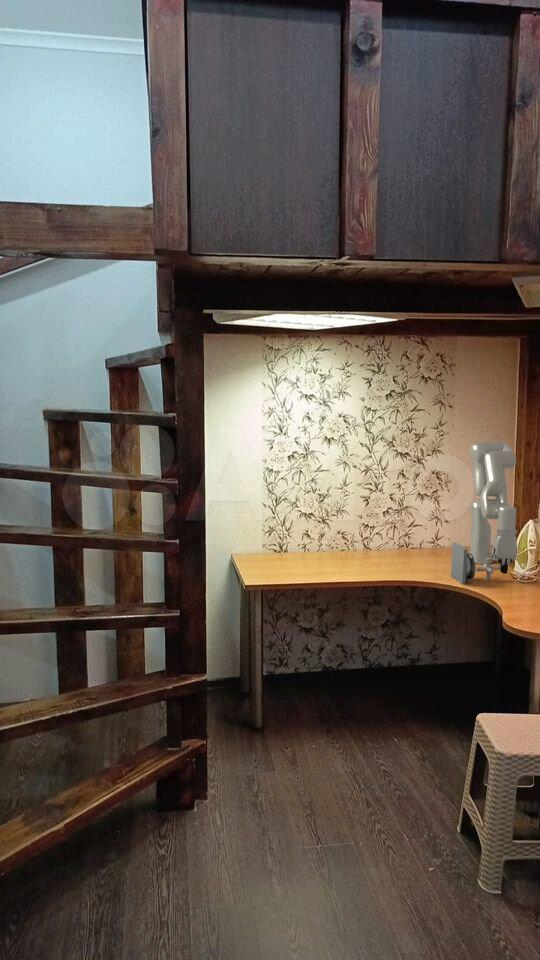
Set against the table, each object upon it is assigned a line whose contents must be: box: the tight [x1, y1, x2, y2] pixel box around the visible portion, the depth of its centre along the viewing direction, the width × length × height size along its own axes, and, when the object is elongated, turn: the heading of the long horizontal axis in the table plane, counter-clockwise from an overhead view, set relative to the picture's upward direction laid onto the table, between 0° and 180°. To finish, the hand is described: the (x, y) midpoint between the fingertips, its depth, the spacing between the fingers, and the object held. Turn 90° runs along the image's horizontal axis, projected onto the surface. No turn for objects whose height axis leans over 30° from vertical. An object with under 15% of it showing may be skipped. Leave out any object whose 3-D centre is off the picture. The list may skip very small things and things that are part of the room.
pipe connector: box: [476, 558, 500, 581], centre depth 297 cm, size 10×10×10 cm
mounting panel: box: [450, 541, 473, 585], centre depth 296 cm, size 6×13×16 cm, turn 7°
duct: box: [466, 552, 476, 579], centre depth 296 cm, size 4×12×12 cm, turn 7°
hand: (503, 572), depth 298 cm, fingers closed
